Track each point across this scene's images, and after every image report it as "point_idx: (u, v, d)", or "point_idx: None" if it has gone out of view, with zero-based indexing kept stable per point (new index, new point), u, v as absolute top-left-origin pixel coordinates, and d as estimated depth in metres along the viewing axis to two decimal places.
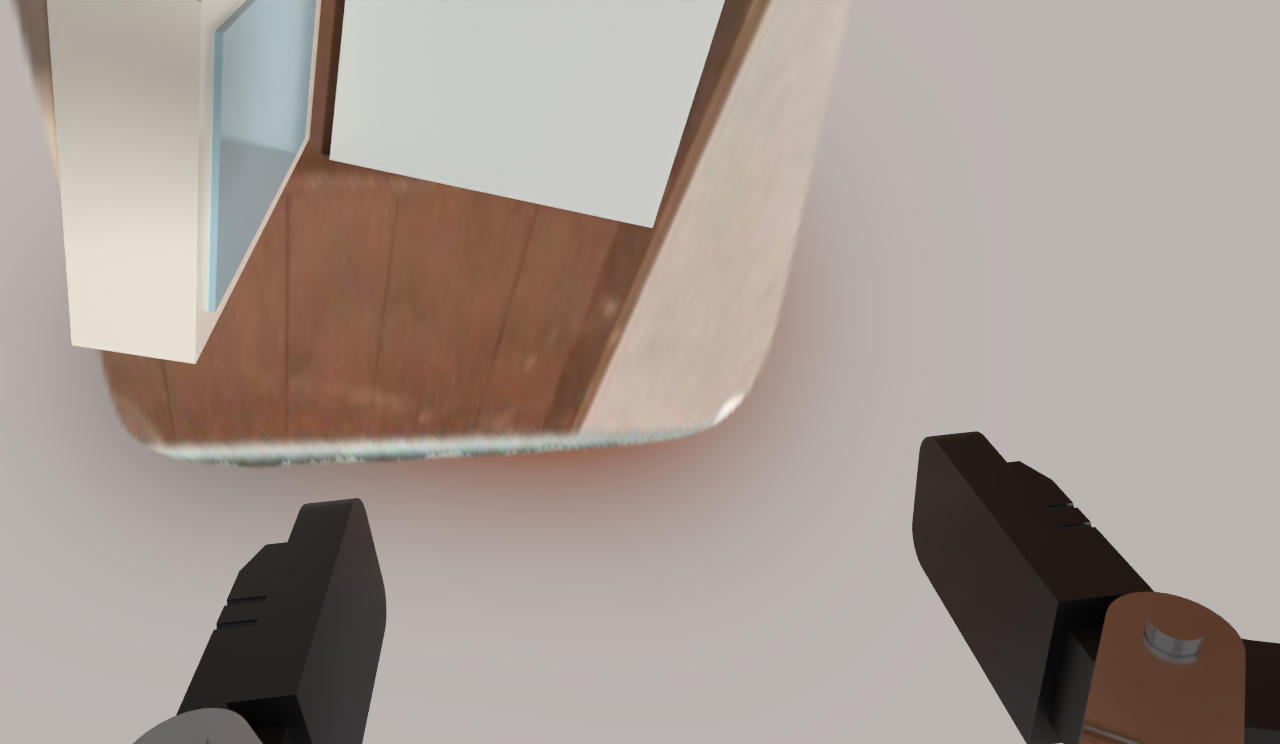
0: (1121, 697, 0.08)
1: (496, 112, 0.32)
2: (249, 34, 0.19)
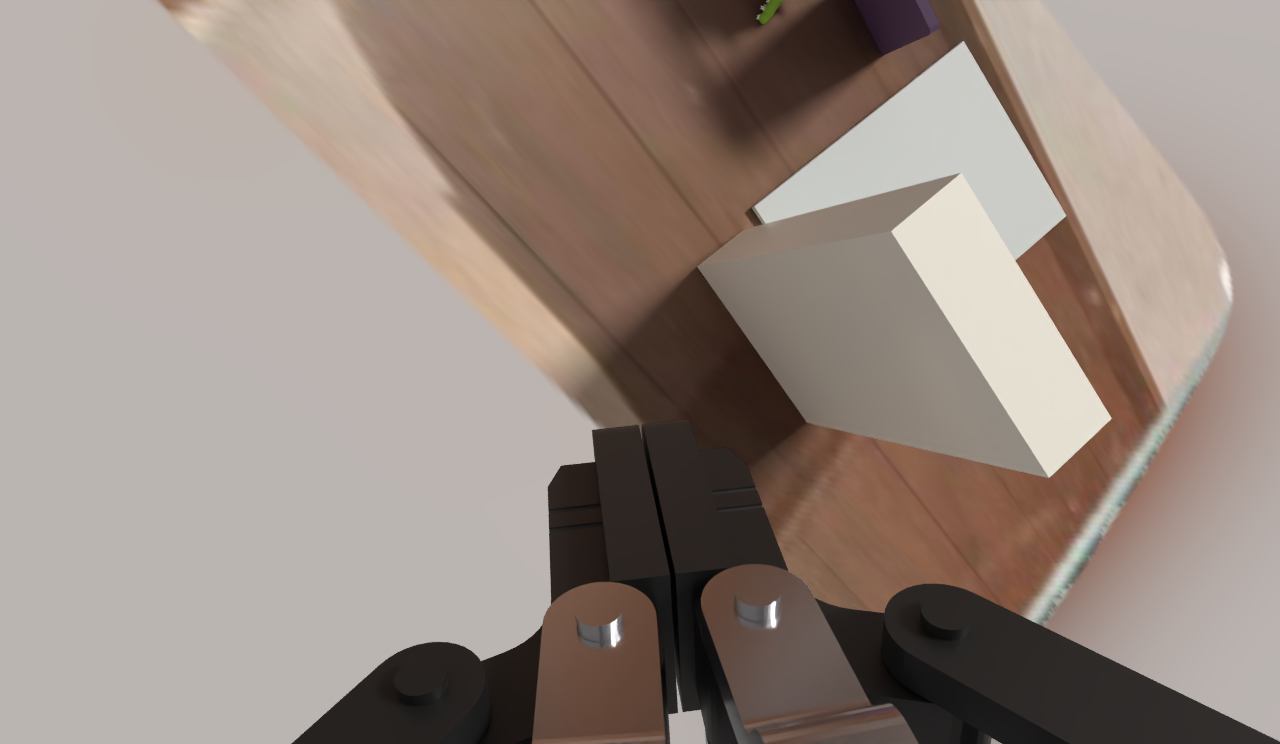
0: (755, 683, 0.09)
1: None
2: None
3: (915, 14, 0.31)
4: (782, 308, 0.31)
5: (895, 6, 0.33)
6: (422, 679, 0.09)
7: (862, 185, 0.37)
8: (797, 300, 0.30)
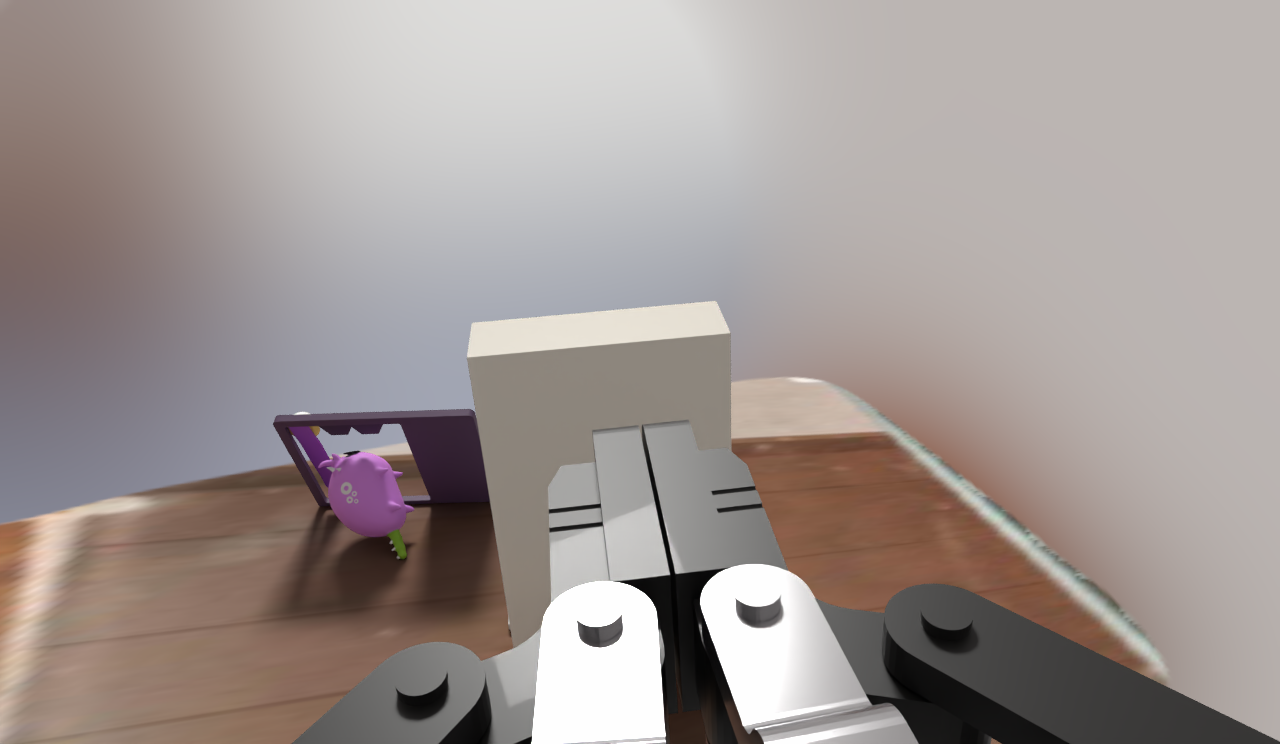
0: (756, 683, 0.09)
1: None
2: None
3: (457, 425, 0.40)
4: None
5: (451, 447, 0.41)
6: (422, 679, 0.09)
7: None
8: None
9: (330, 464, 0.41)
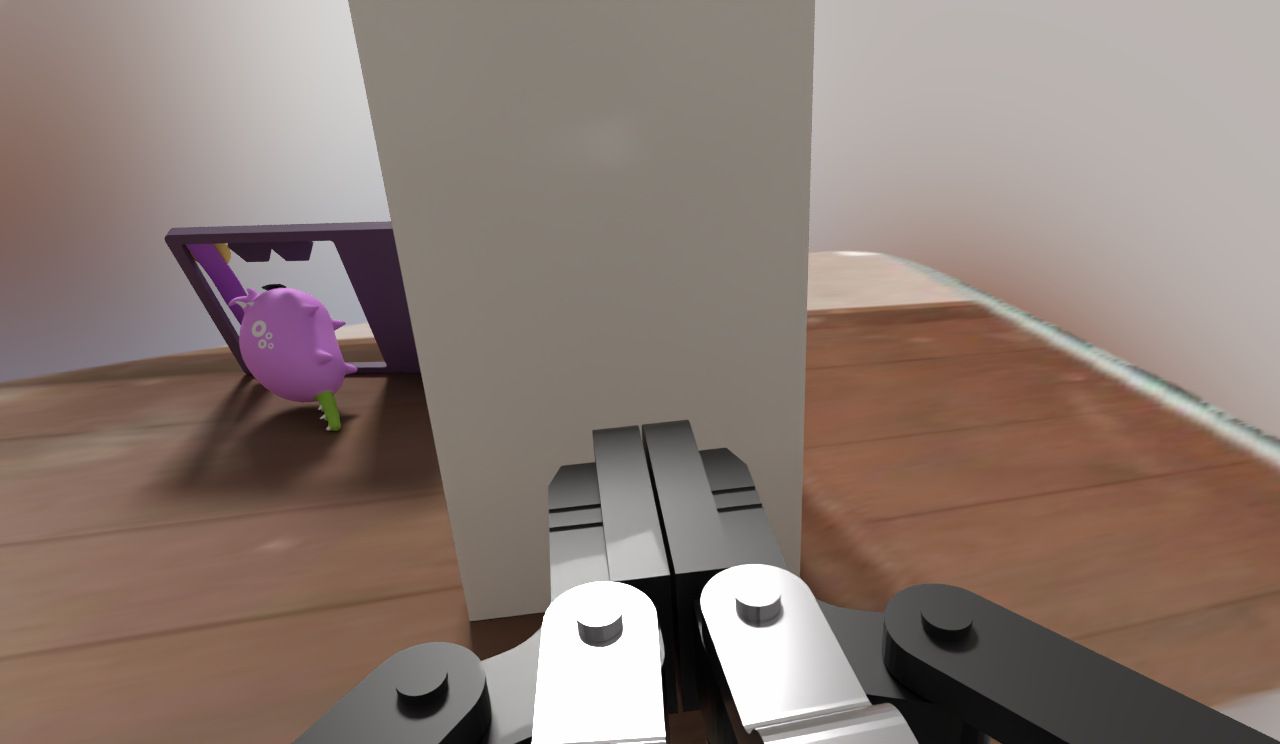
0: (755, 683, 0.09)
1: None
2: None
3: None
4: (536, 429, 0.19)
5: None
6: (422, 679, 0.09)
7: None
8: (513, 367, 0.18)
9: (244, 301, 0.30)
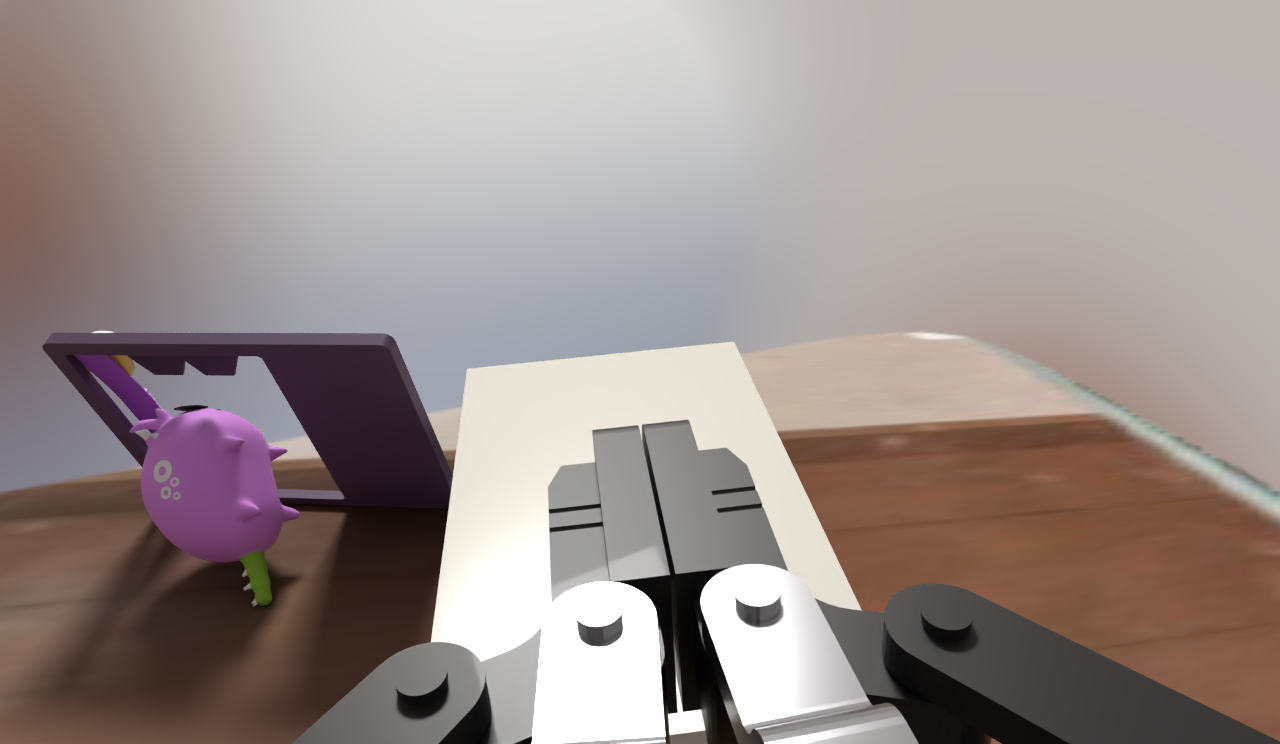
0: (756, 683, 0.09)
1: None
2: None
3: (362, 364, 0.21)
4: (545, 551, 0.19)
5: (360, 406, 0.22)
6: (422, 680, 0.09)
7: None
8: (531, 510, 0.20)
9: (151, 427, 0.23)
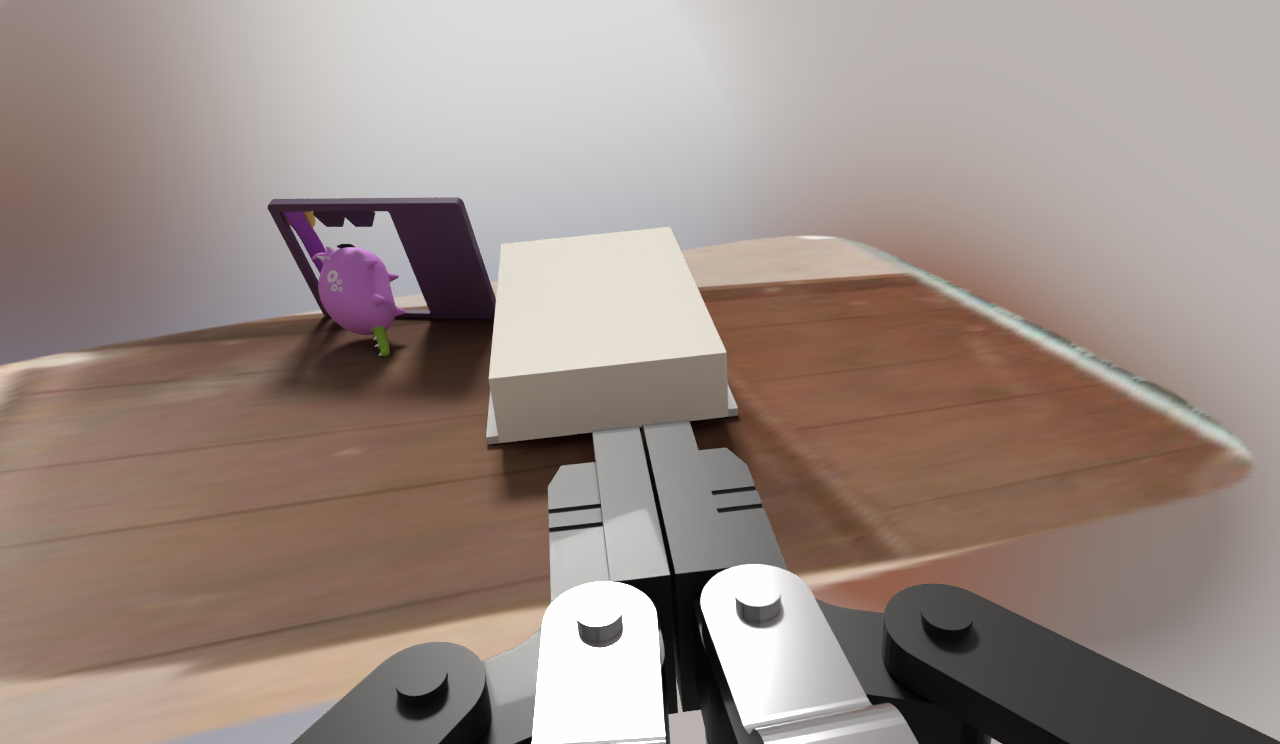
0: (755, 683, 0.09)
1: None
2: None
3: (445, 215, 0.38)
4: (551, 312, 0.34)
5: (442, 244, 0.39)
6: (422, 679, 0.09)
7: None
8: (543, 299, 0.36)
9: (323, 256, 0.40)
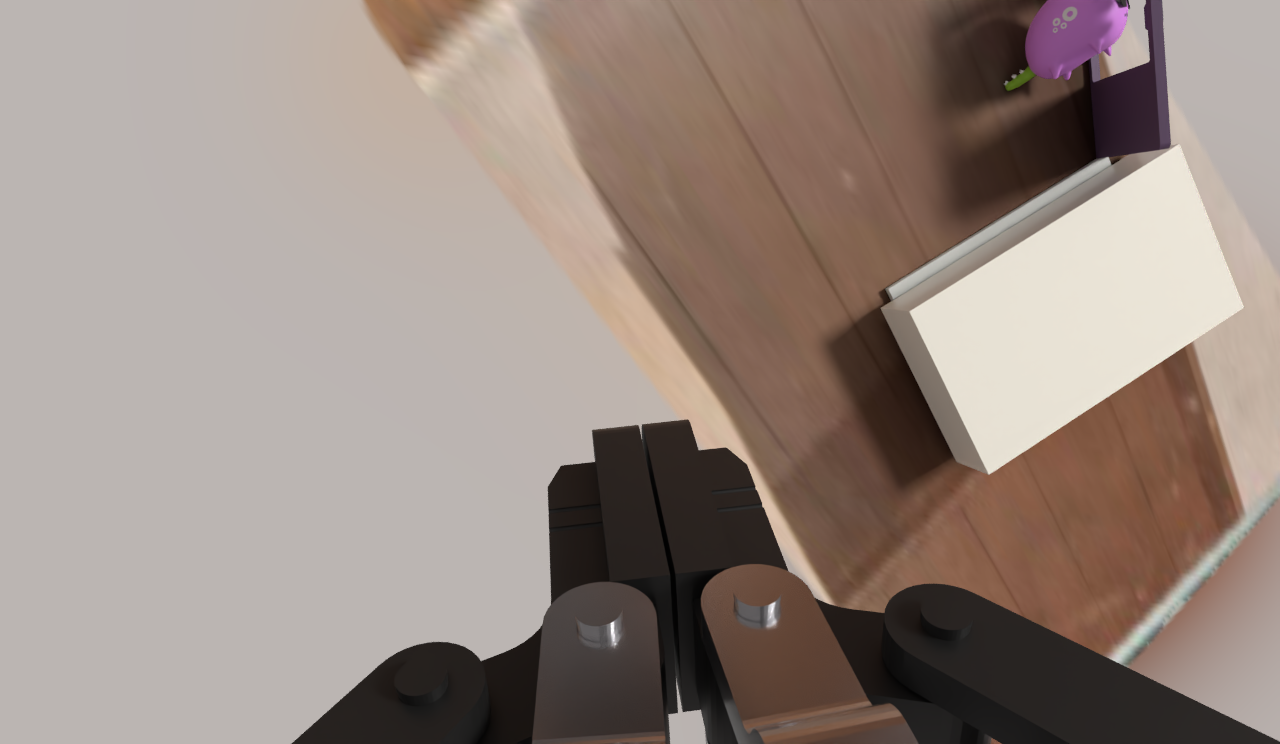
0: (756, 683, 0.09)
1: None
2: None
3: (1151, 129, 0.35)
4: (1030, 295, 0.37)
5: (1134, 117, 0.36)
6: (422, 679, 0.09)
7: None
8: (1056, 270, 0.38)
9: None
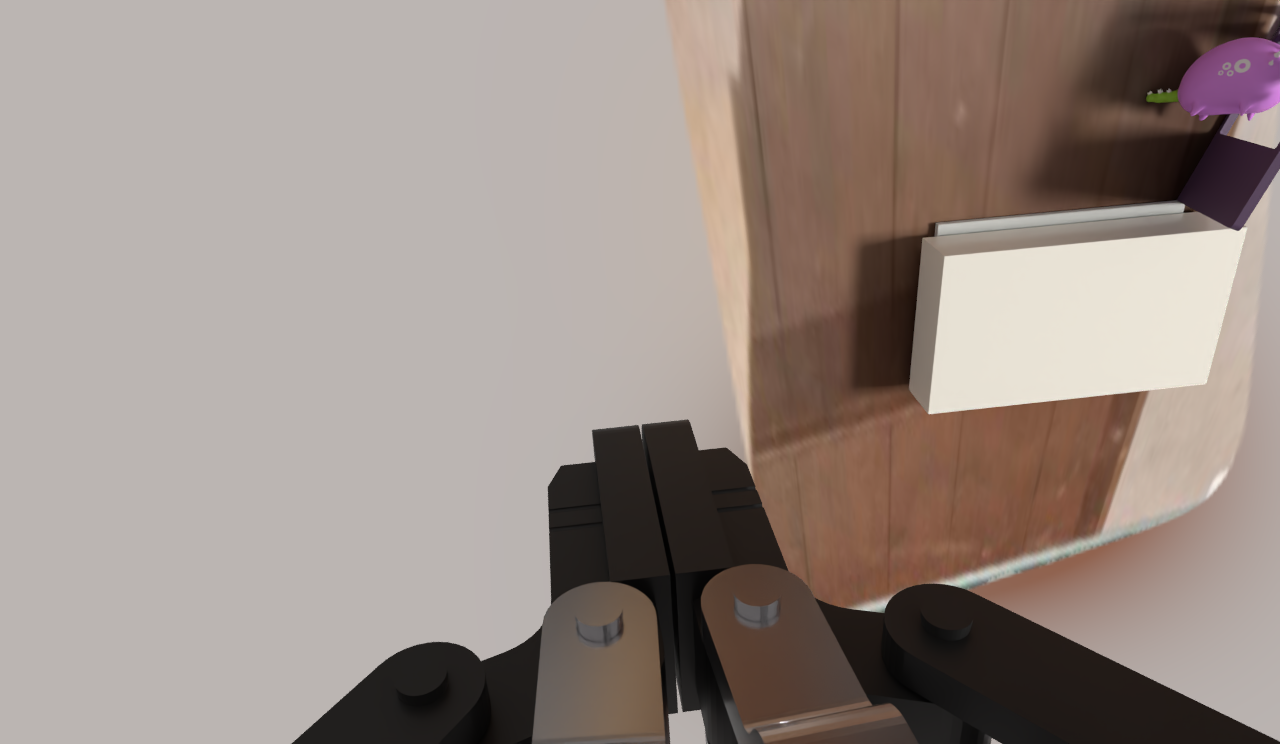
0: (755, 683, 0.09)
1: None
2: None
3: (1236, 207, 0.37)
4: (1048, 291, 0.41)
5: (1229, 187, 0.38)
6: (422, 680, 0.09)
7: None
8: (1081, 281, 0.41)
9: None
